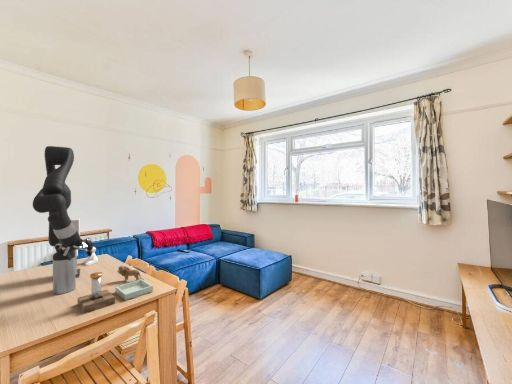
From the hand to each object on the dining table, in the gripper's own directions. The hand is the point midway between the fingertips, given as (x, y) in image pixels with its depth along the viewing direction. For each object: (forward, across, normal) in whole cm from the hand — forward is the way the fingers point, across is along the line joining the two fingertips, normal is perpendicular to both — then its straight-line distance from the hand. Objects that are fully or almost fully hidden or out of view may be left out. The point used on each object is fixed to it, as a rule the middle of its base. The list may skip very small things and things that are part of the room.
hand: (80, 257), depth 117 cm
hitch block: (+14, -7, +19) cm, 24 cm away
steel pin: (+14, -7, +19) cm, 24 cm away
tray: (+21, -21, +11) cm, 31 cm away
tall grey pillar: (+31, +23, -20) cm, 44 cm away
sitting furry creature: (+44, +20, -42) cm, 64 cm away
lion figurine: (+28, -15, -3) cm, 32 cm away
